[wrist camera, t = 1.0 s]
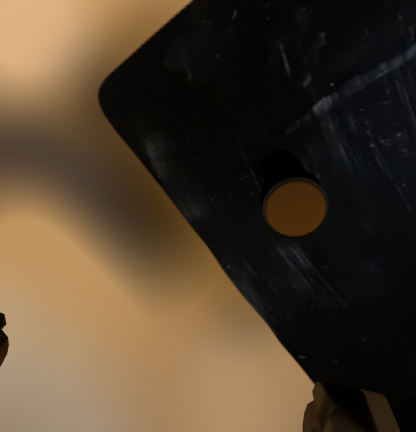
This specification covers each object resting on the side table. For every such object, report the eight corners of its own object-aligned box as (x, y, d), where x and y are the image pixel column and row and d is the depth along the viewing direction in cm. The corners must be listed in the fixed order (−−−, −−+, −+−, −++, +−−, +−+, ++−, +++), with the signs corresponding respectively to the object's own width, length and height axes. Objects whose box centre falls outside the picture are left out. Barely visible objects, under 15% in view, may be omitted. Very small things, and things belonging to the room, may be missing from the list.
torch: (253, 155, 33) (252, 189, 22) (298, 139, 32) (321, 168, 21) (266, 195, 34) (272, 247, 23) (309, 182, 33) (337, 230, 22)
